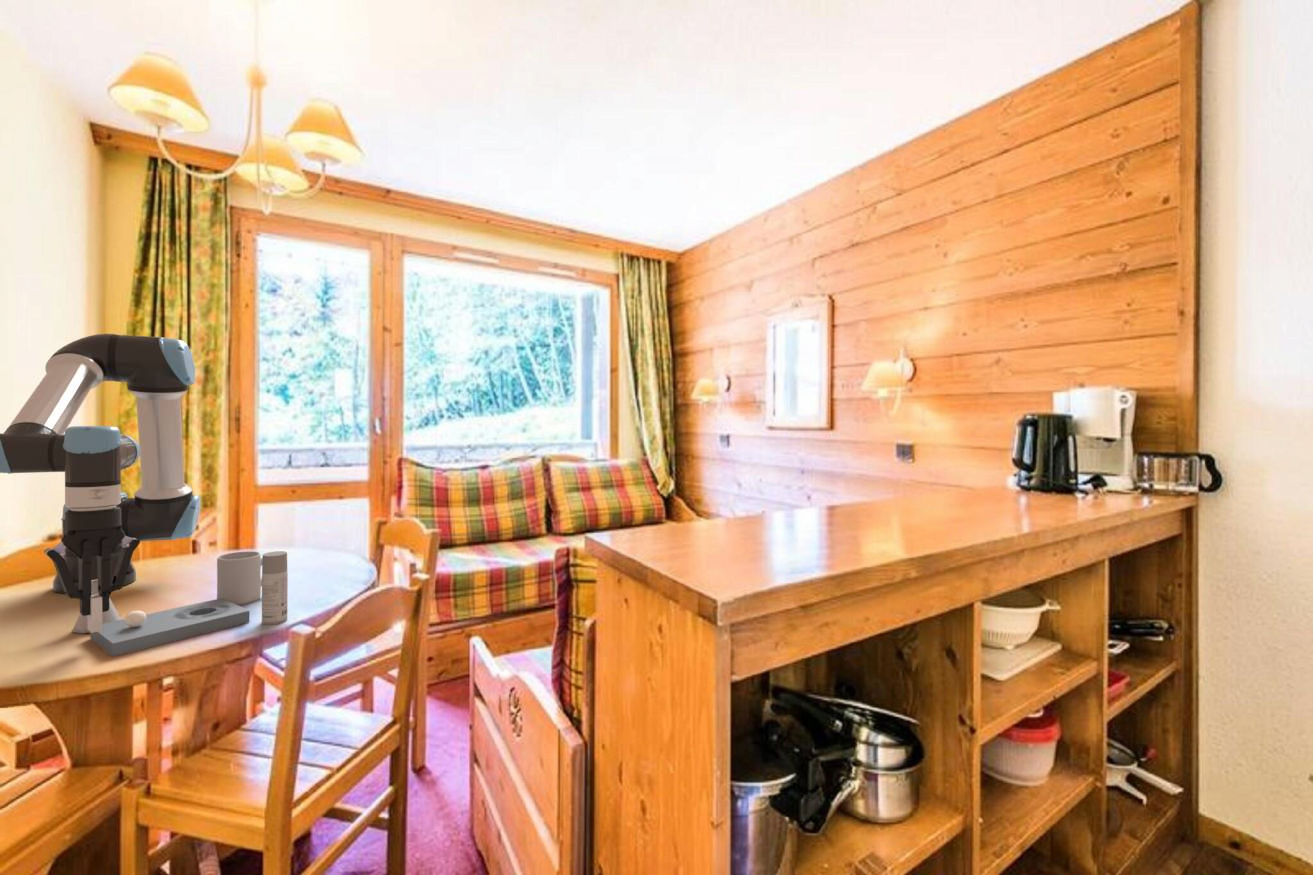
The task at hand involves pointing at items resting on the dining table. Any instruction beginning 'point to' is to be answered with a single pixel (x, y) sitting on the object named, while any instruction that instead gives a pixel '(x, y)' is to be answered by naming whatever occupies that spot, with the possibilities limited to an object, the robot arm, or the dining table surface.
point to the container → (274, 587)
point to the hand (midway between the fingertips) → (95, 630)
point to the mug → (239, 577)
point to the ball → (135, 619)
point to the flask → (107, 616)
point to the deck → (170, 626)
